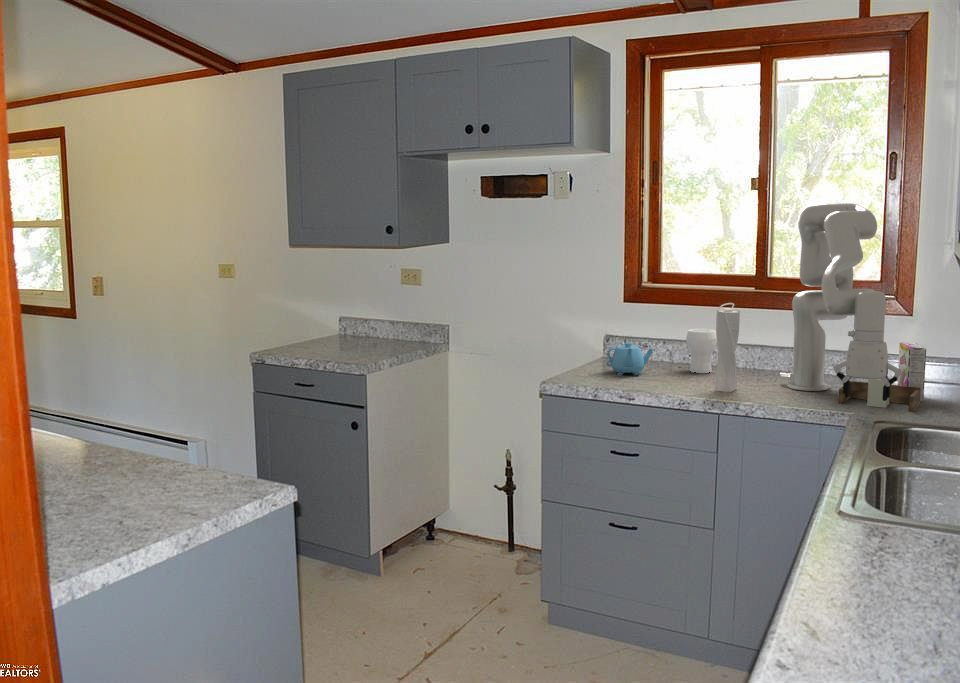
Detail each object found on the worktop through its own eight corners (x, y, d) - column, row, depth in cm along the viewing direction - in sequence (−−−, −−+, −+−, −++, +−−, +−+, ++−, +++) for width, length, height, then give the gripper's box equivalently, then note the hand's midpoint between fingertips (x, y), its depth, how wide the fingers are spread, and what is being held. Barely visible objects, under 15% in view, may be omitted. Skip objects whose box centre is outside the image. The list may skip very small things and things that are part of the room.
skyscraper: (719, 386, 279) (721, 302, 275) (741, 388, 275) (744, 303, 271) (710, 390, 273) (712, 304, 269) (733, 393, 268) (736, 305, 264)
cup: (679, 371, 307) (680, 330, 305) (696, 367, 314) (697, 327, 312) (705, 375, 299) (706, 333, 297) (721, 371, 306) (722, 330, 304)
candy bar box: (895, 394, 264) (898, 342, 261) (912, 394, 263) (916, 342, 260) (905, 401, 253) (909, 347, 251) (924, 402, 252) (927, 347, 250)
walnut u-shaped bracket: (838, 404, 251) (838, 387, 250) (847, 396, 261) (848, 380, 260) (912, 412, 240) (913, 394, 239) (919, 404, 249) (920, 387, 248)
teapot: (657, 374, 302) (657, 343, 301) (629, 379, 294) (630, 346, 293) (626, 368, 315) (627, 338, 313) (599, 372, 307) (599, 342, 305)
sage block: (867, 405, 249) (868, 378, 248) (870, 402, 253) (872, 376, 252) (885, 407, 246) (887, 380, 245) (889, 404, 250) (890, 377, 249)
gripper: (831, 336, 233) (829, 397, 235) (901, 339, 223) (897, 403, 225) (838, 333, 239) (836, 393, 241) (906, 337, 229) (903, 399, 231)
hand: (865, 398), depth 233 cm, fingers open, 9 cm apart
